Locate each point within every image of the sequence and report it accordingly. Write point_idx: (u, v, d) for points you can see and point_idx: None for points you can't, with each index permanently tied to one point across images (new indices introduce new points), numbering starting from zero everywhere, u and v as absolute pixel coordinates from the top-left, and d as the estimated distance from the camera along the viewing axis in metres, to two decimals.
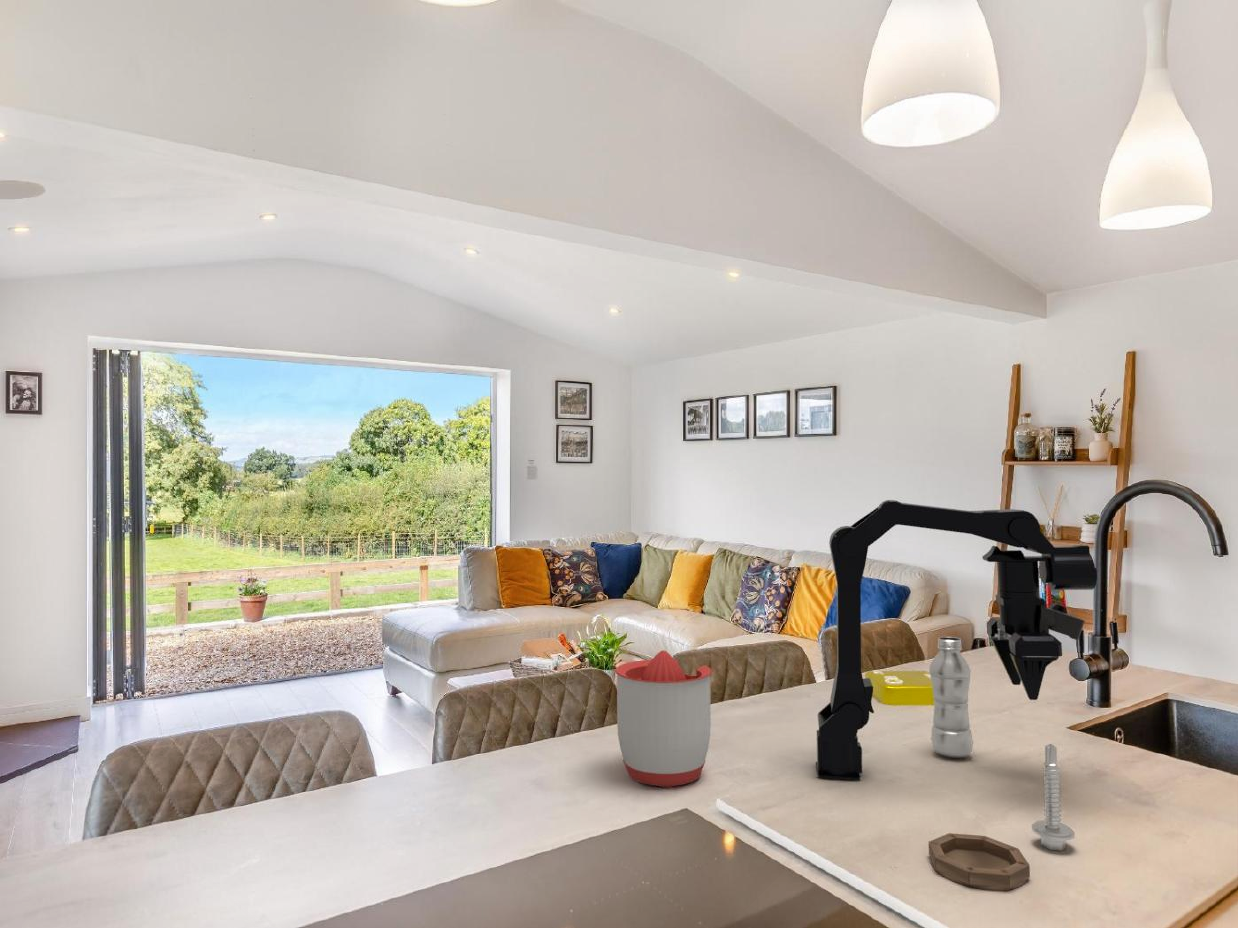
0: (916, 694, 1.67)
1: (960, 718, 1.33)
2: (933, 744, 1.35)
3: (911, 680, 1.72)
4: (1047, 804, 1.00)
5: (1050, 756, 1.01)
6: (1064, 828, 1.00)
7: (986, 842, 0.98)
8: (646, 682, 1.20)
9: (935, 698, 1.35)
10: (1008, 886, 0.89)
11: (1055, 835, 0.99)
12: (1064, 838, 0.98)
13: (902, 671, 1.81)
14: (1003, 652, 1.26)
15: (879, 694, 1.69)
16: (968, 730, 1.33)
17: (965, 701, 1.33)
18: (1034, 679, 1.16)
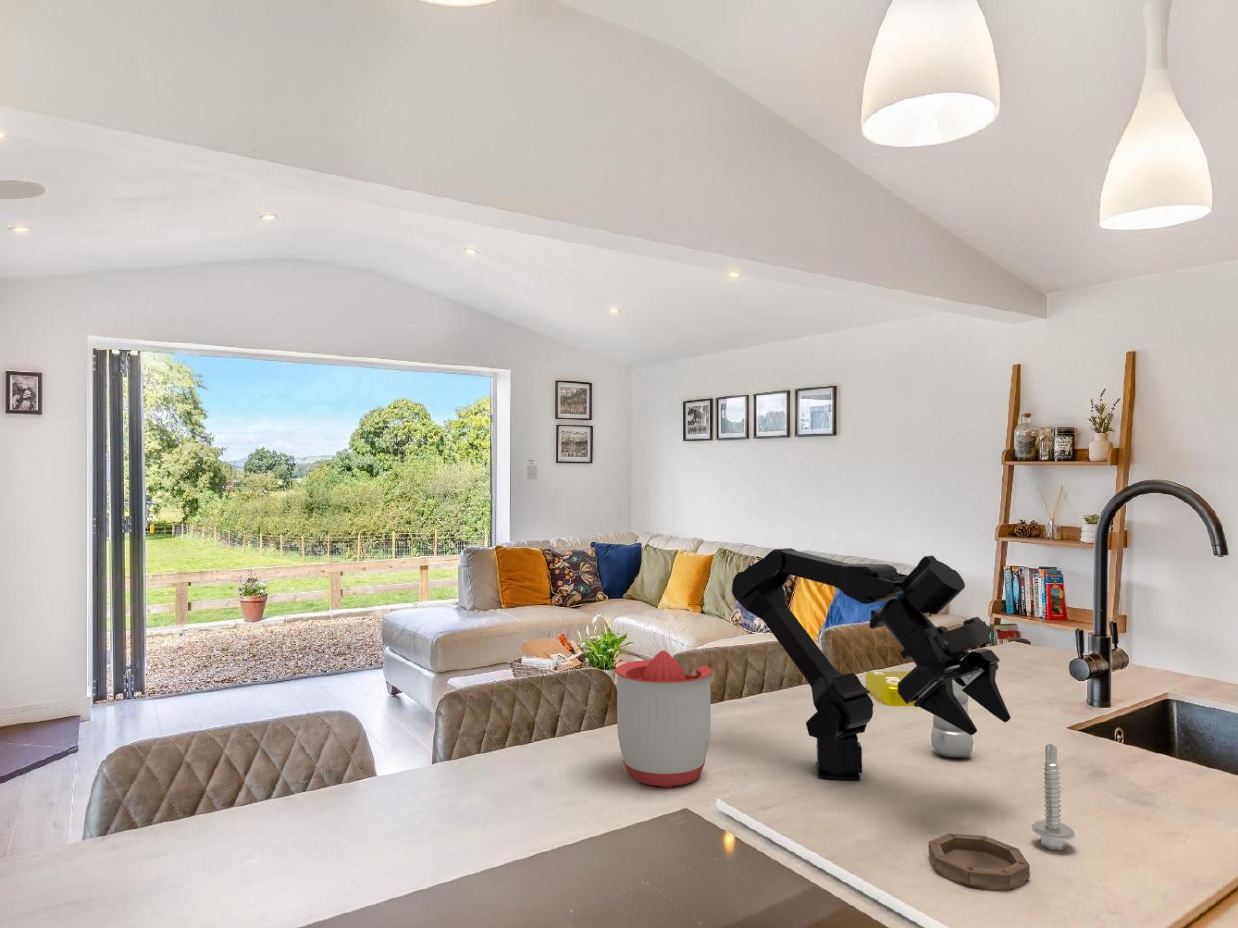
0: None
1: None
2: (933, 744, 1.35)
3: None
4: (1047, 804, 1.00)
5: (1050, 756, 1.01)
6: (1064, 828, 1.00)
7: (986, 842, 0.98)
8: (646, 682, 1.20)
9: None
10: (1008, 886, 0.89)
11: (1055, 835, 0.99)
12: (1064, 838, 0.98)
13: (902, 671, 1.80)
14: (977, 695, 1.14)
15: (881, 695, 1.69)
16: None
17: (965, 701, 1.33)
18: (954, 713, 1.05)
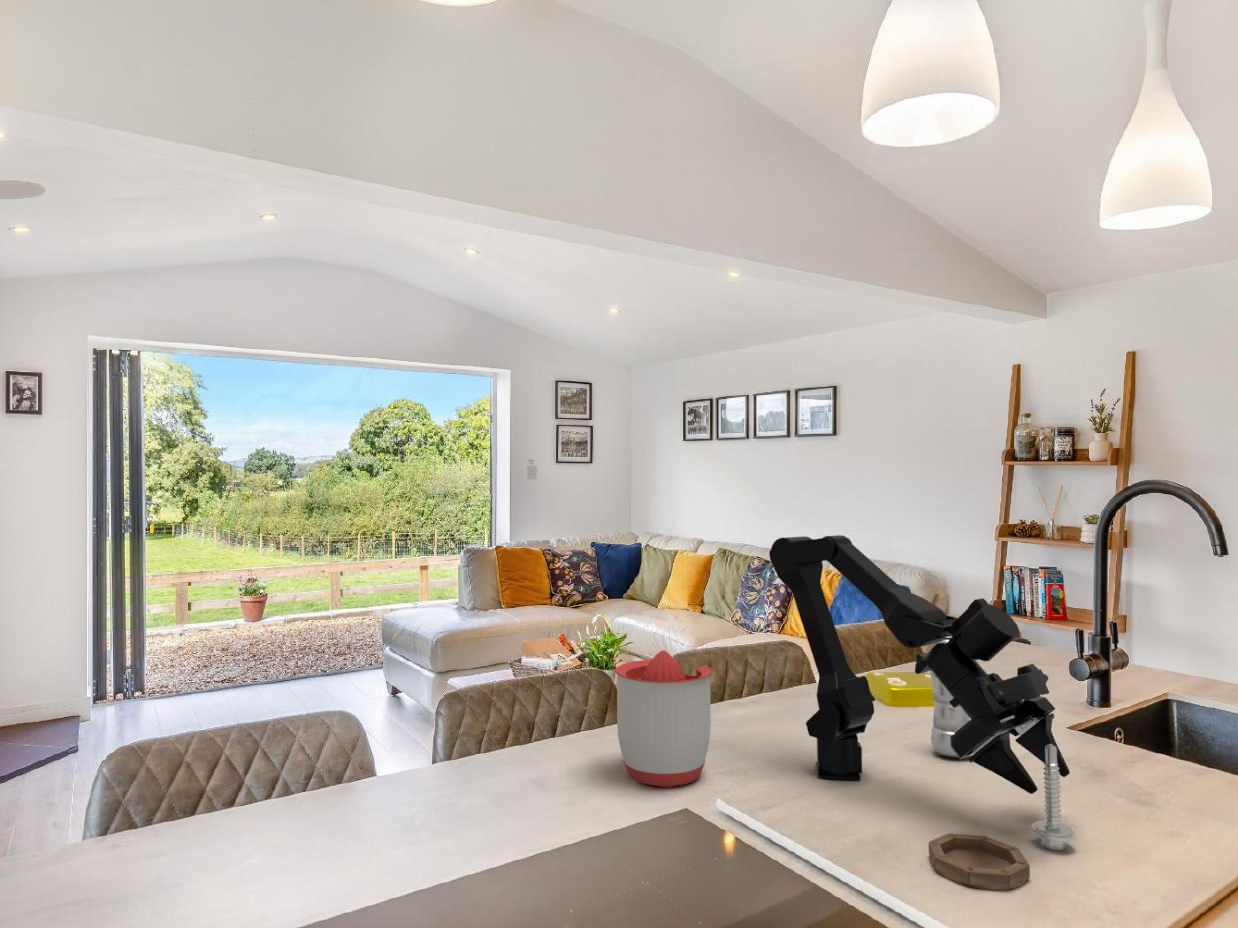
0: (920, 695, 1.65)
1: (960, 718, 1.33)
2: (933, 744, 1.35)
3: (913, 681, 1.71)
4: (1047, 804, 1.00)
5: (1050, 756, 1.01)
6: (1064, 828, 1.00)
7: (986, 842, 0.98)
8: (646, 682, 1.20)
9: (935, 698, 1.35)
10: (1008, 886, 0.89)
11: (1055, 835, 0.99)
12: (1064, 838, 0.98)
13: (902, 672, 1.80)
14: (1032, 747, 1.08)
15: (883, 696, 1.68)
16: None
17: None
18: (1013, 770, 0.99)
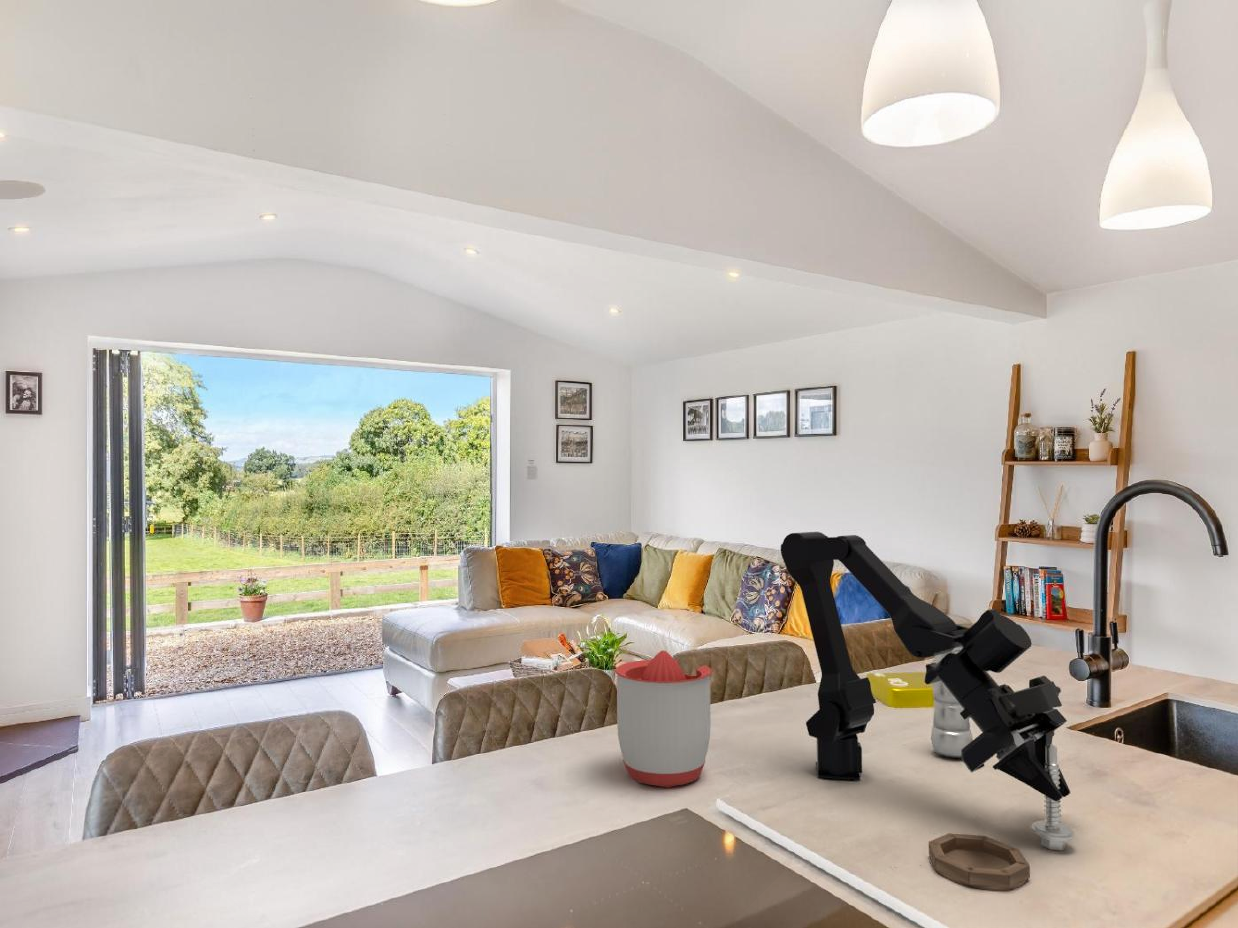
0: (922, 696, 1.65)
1: (960, 718, 1.33)
2: (933, 744, 1.35)
3: (915, 682, 1.70)
4: (1047, 804, 1.00)
5: (1050, 756, 1.01)
6: (1064, 828, 1.00)
7: (986, 842, 0.98)
8: (646, 682, 1.20)
9: (935, 698, 1.35)
10: (1008, 886, 0.89)
11: (1055, 835, 0.99)
12: (1064, 838, 0.98)
13: (902, 673, 1.79)
14: None
15: (885, 697, 1.67)
16: (968, 730, 1.33)
17: None
18: (1037, 777, 1.00)
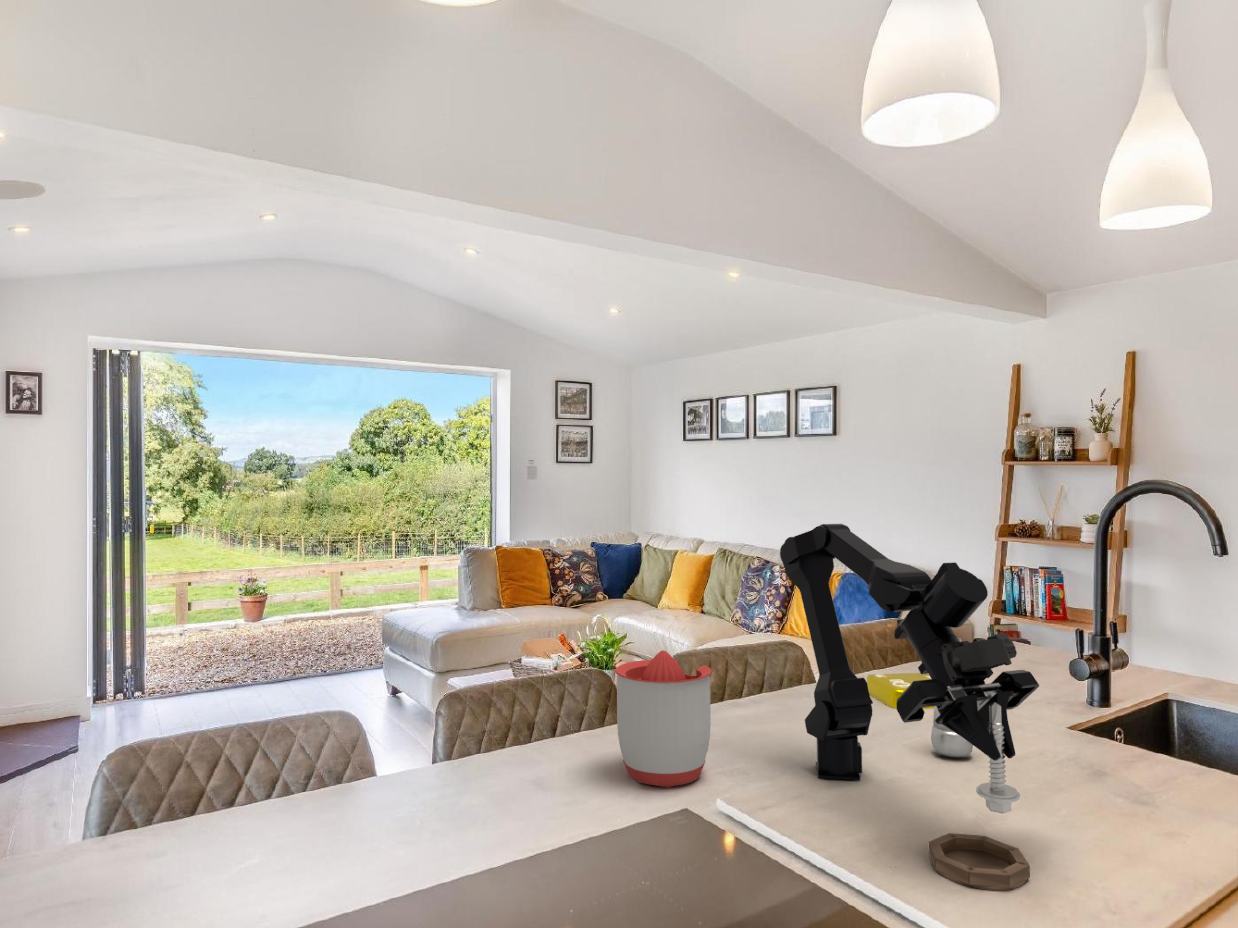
0: None
1: None
2: (933, 744, 1.35)
3: None
4: (990, 764, 0.96)
5: (993, 715, 0.96)
6: (1009, 791, 0.95)
7: (986, 842, 0.98)
8: (646, 682, 1.20)
9: None
10: (1008, 886, 0.89)
11: (993, 796, 0.94)
12: (1002, 799, 0.94)
13: (902, 673, 1.78)
14: (985, 724, 1.00)
15: (888, 698, 1.66)
16: None
17: None
18: (977, 735, 0.96)
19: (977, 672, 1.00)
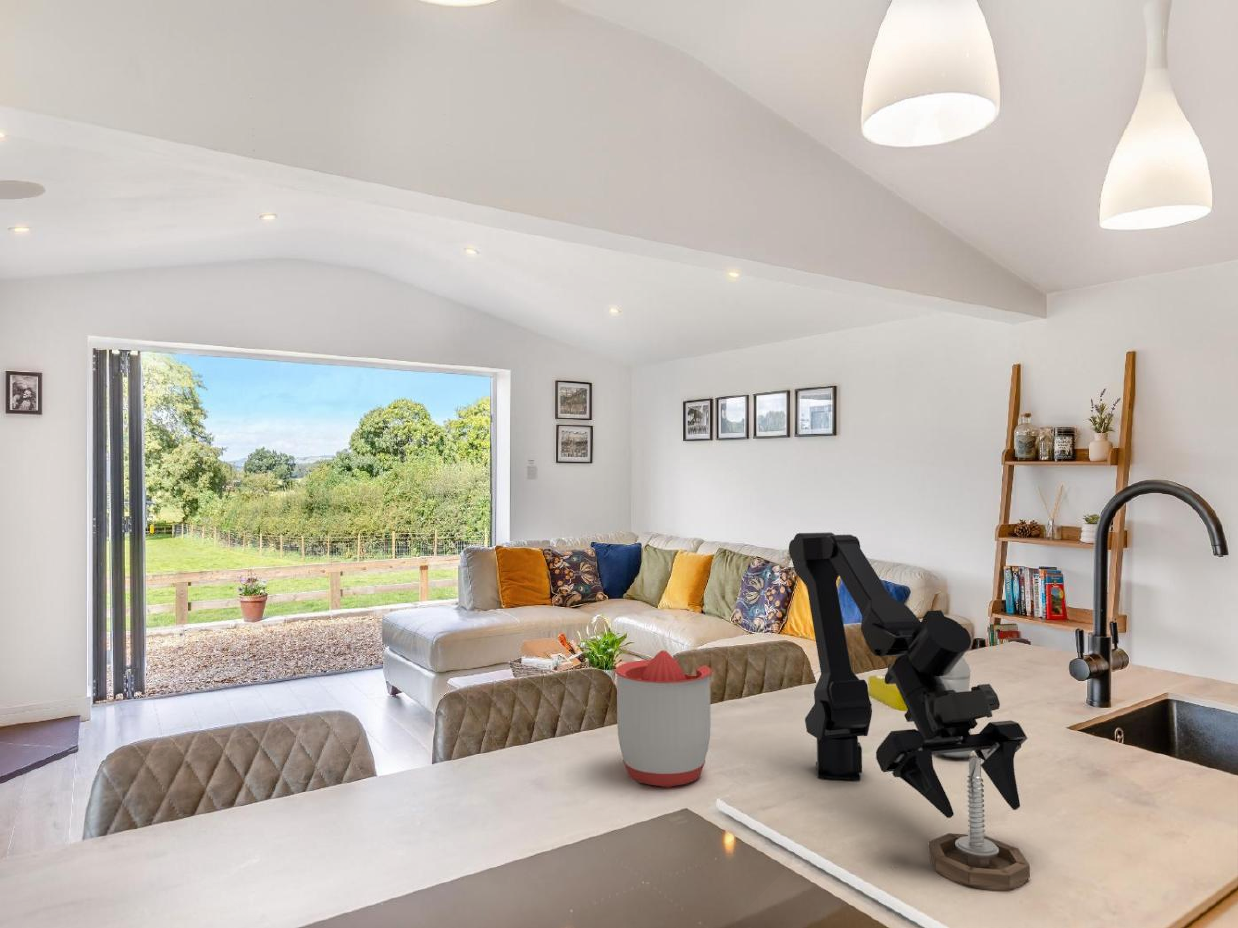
0: None
1: None
2: None
3: None
4: (969, 818, 0.95)
5: (972, 768, 0.95)
6: (988, 846, 0.94)
7: None
8: (646, 682, 1.20)
9: None
10: (1008, 886, 0.89)
11: (969, 850, 0.94)
12: (978, 855, 0.93)
13: None
14: (992, 774, 0.99)
15: (892, 700, 1.65)
16: None
17: None
18: (932, 790, 0.94)
19: (960, 723, 0.99)
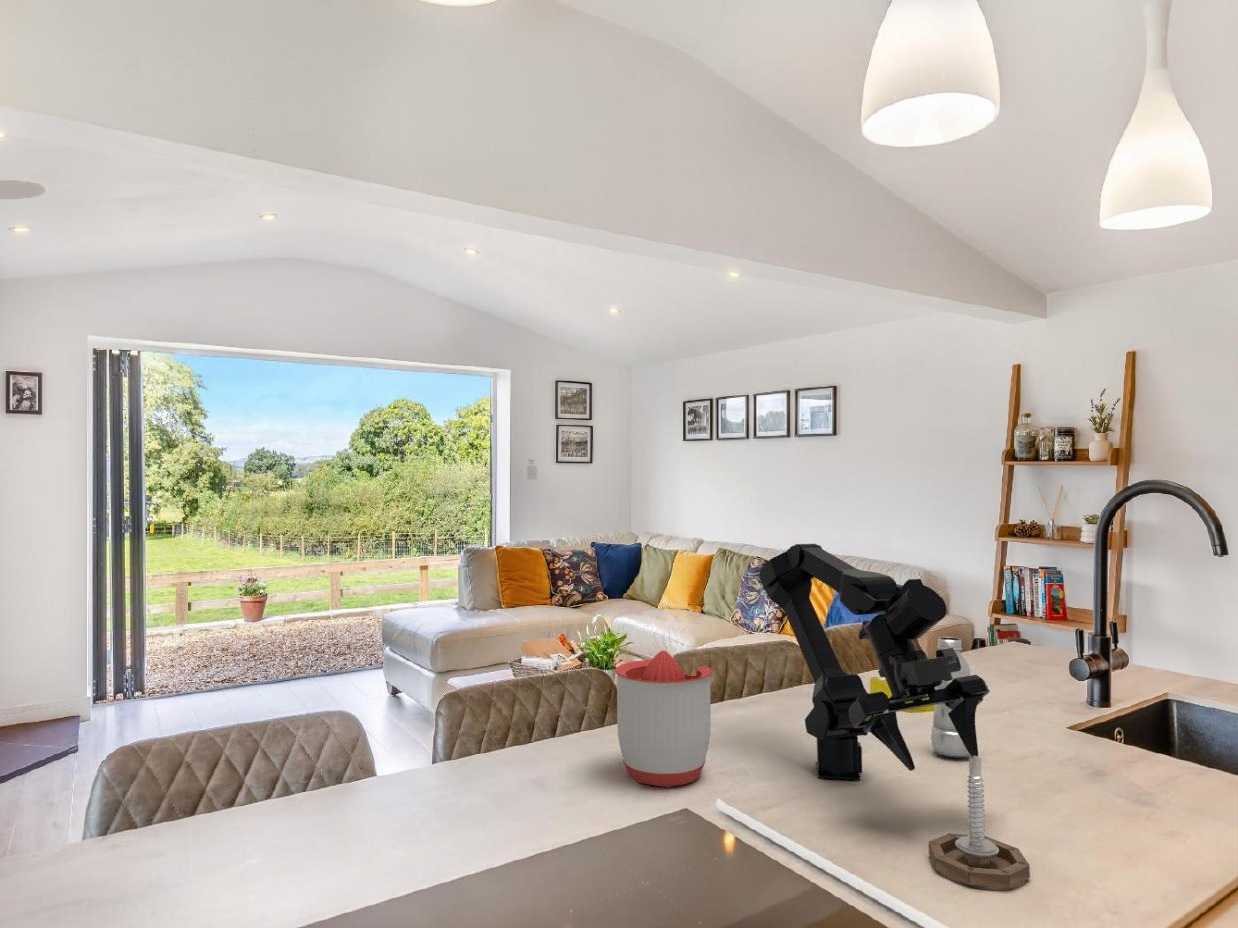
0: None
1: None
2: (933, 744, 1.35)
3: None
4: (969, 818, 0.95)
5: (972, 768, 0.95)
6: (988, 847, 0.94)
7: None
8: (646, 682, 1.20)
9: None
10: (1008, 886, 0.89)
11: (969, 850, 0.94)
12: (978, 855, 0.93)
13: None
14: (957, 723, 1.09)
15: None
16: None
17: None
18: (896, 746, 1.05)
19: None
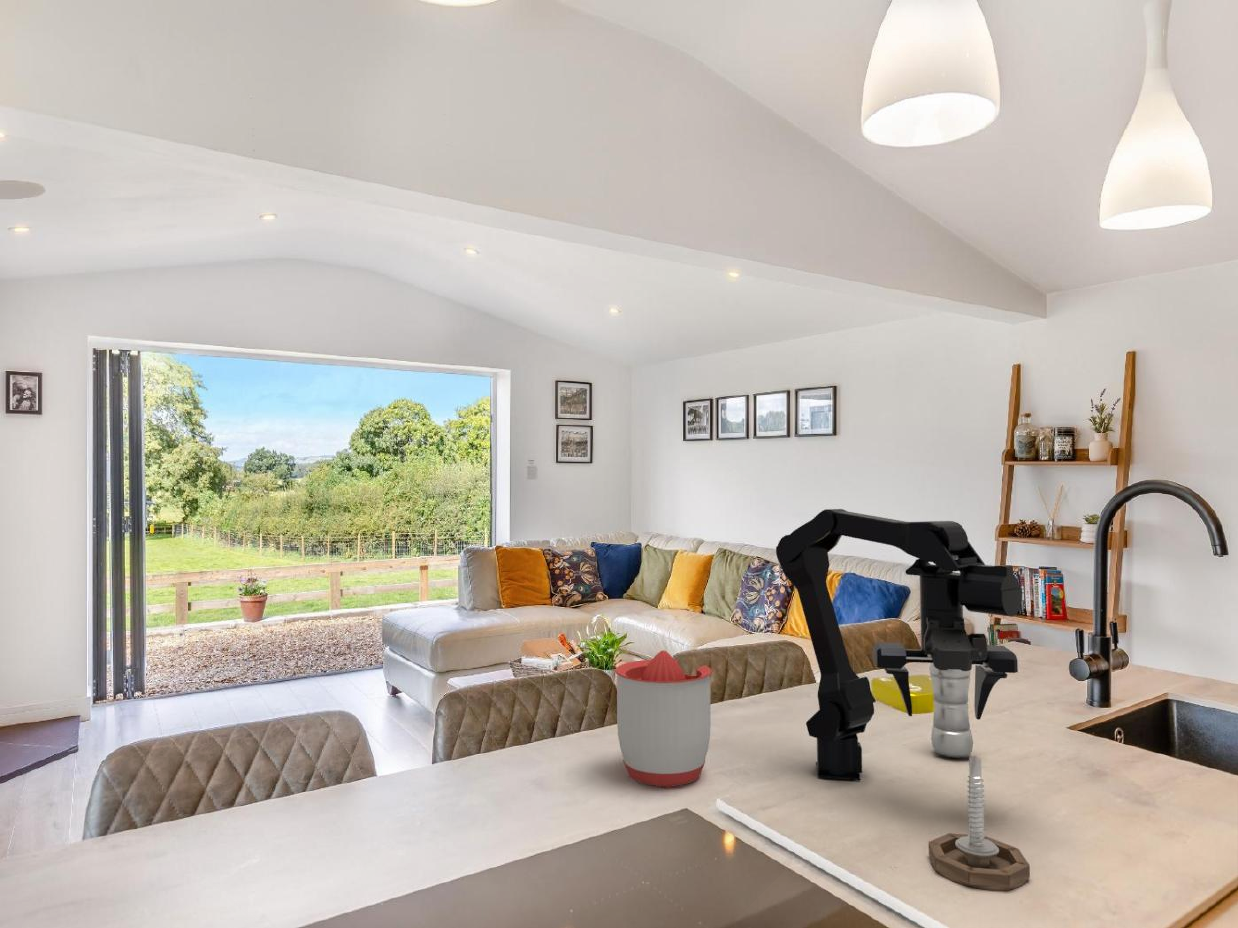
0: None
1: (960, 718, 1.33)
2: (933, 744, 1.35)
3: (925, 686, 1.67)
4: (969, 818, 0.95)
5: (972, 768, 0.95)
6: (988, 847, 0.94)
7: None
8: (646, 682, 1.20)
9: (935, 698, 1.35)
10: (1008, 886, 0.89)
11: (969, 851, 0.94)
12: (978, 855, 0.93)
13: None
14: (977, 681, 1.13)
15: (900, 703, 1.63)
16: (968, 730, 1.33)
17: (965, 701, 1.33)
18: None
19: None
